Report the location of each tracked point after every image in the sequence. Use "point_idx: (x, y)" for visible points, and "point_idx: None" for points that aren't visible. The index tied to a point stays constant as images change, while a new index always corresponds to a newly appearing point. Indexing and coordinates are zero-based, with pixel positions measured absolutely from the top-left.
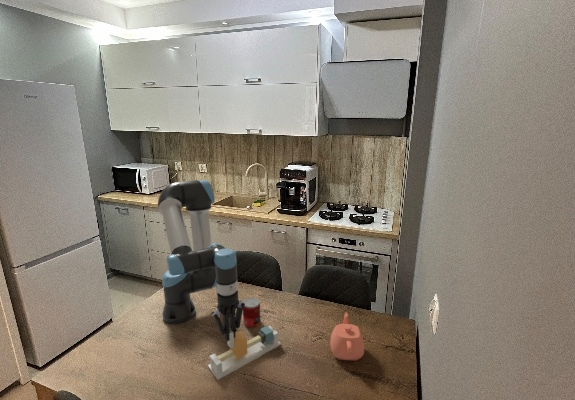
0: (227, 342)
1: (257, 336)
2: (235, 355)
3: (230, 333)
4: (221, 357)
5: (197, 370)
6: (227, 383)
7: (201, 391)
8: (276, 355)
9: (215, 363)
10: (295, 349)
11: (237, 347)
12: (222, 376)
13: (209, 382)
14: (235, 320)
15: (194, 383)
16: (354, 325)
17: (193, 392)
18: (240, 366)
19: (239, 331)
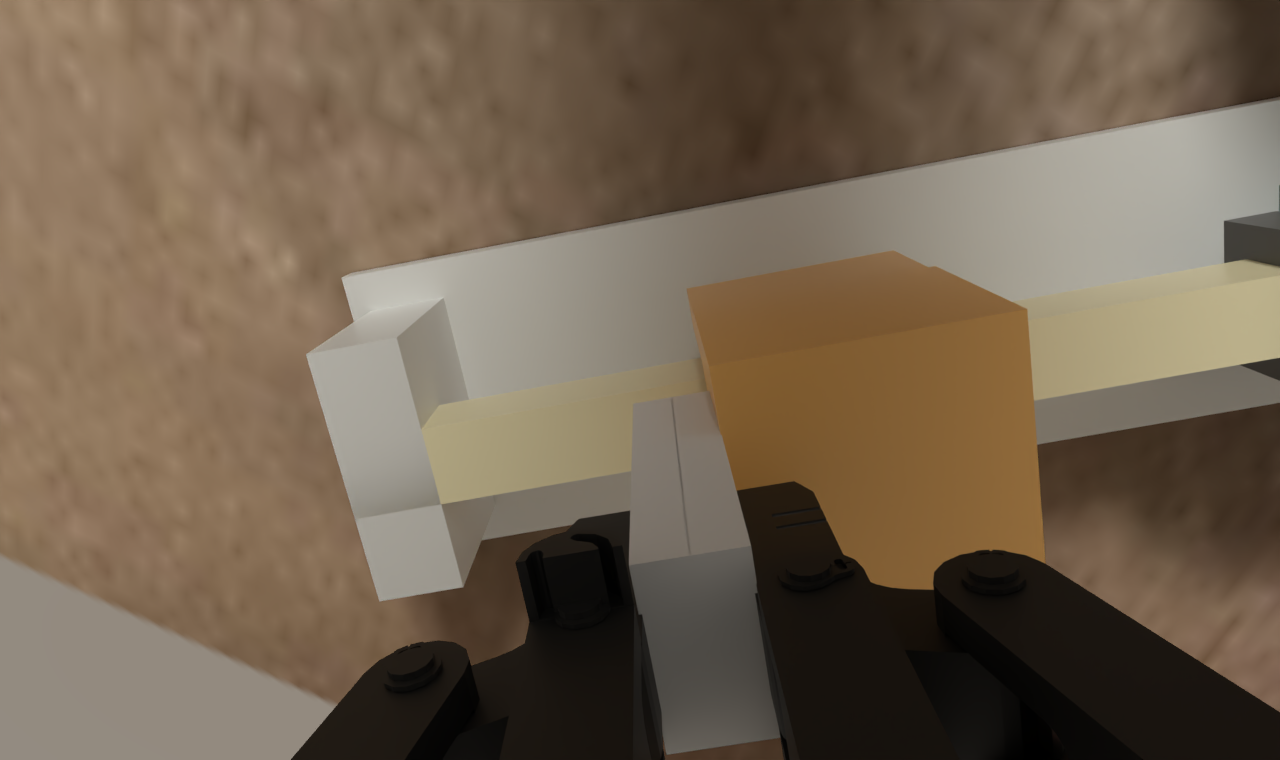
0: (633, 430)
1: (1259, 294)
2: None
3: (686, 749)
4: (486, 488)
5: (202, 264)
6: (520, 633)
7: (218, 602)
8: (1253, 516)
9: (368, 560)
10: None
11: None
12: (487, 534)
13: (324, 526)
14: (1051, 712)
15: (148, 457)
16: None
17: (128, 574)
18: None
19: (996, 333)
